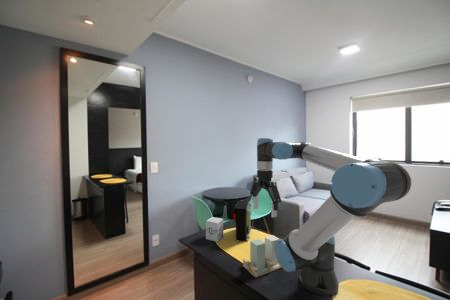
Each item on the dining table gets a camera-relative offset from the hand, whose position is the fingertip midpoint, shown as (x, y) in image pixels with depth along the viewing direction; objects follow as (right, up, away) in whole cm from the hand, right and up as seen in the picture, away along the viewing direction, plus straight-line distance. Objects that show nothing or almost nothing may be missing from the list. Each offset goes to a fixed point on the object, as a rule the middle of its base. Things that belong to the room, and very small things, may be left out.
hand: (264, 212), depth 102 cm
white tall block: (+4, -25, +2) cm, 25 cm away
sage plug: (-4, -25, -3) cm, 26 cm away
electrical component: (-8, -25, +34) cm, 43 cm away
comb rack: (0, -26, -1) cm, 26 cm away
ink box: (-26, -25, +30) cm, 47 cm away
